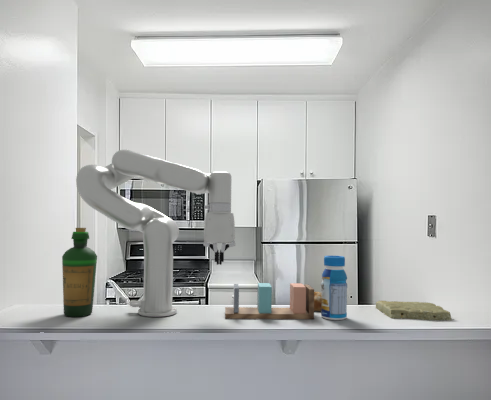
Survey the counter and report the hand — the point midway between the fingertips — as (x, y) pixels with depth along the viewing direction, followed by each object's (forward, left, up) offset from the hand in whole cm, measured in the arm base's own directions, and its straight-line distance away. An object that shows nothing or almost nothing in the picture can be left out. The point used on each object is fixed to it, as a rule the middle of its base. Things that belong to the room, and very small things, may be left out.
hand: (219, 264), depth 144 cm
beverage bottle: (+38, -3, -17) cm, 42 cm away
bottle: (-45, -1, -17) cm, 48 cm away
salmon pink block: (+26, 0, -15) cm, 30 cm away
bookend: (+6, 0, -15) cm, 16 cm away
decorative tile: (+67, +4, -17) cm, 69 cm away
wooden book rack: (+17, 0, -17) cm, 24 cm away
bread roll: (+35, +11, -17) cm, 40 cm away
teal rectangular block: (+15, 0, -15) cm, 21 cm away
